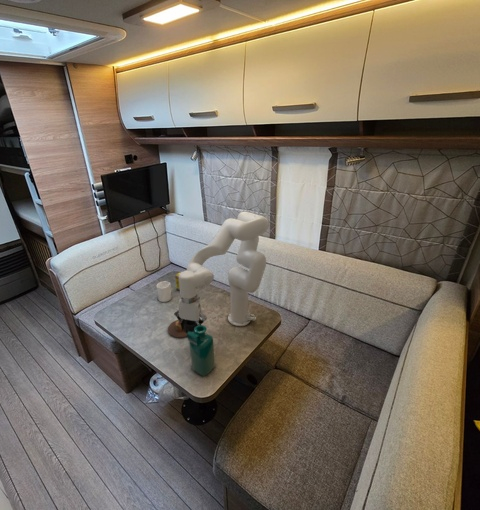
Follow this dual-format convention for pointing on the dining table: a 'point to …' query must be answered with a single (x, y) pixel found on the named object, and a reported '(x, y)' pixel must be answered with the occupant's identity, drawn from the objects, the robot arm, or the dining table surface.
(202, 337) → the green bottle
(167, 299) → the mug
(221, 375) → the dining table surface
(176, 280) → the supplement box
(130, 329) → the dining table surface
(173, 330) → the stand
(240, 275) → the robot arm
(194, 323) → the tape roll
